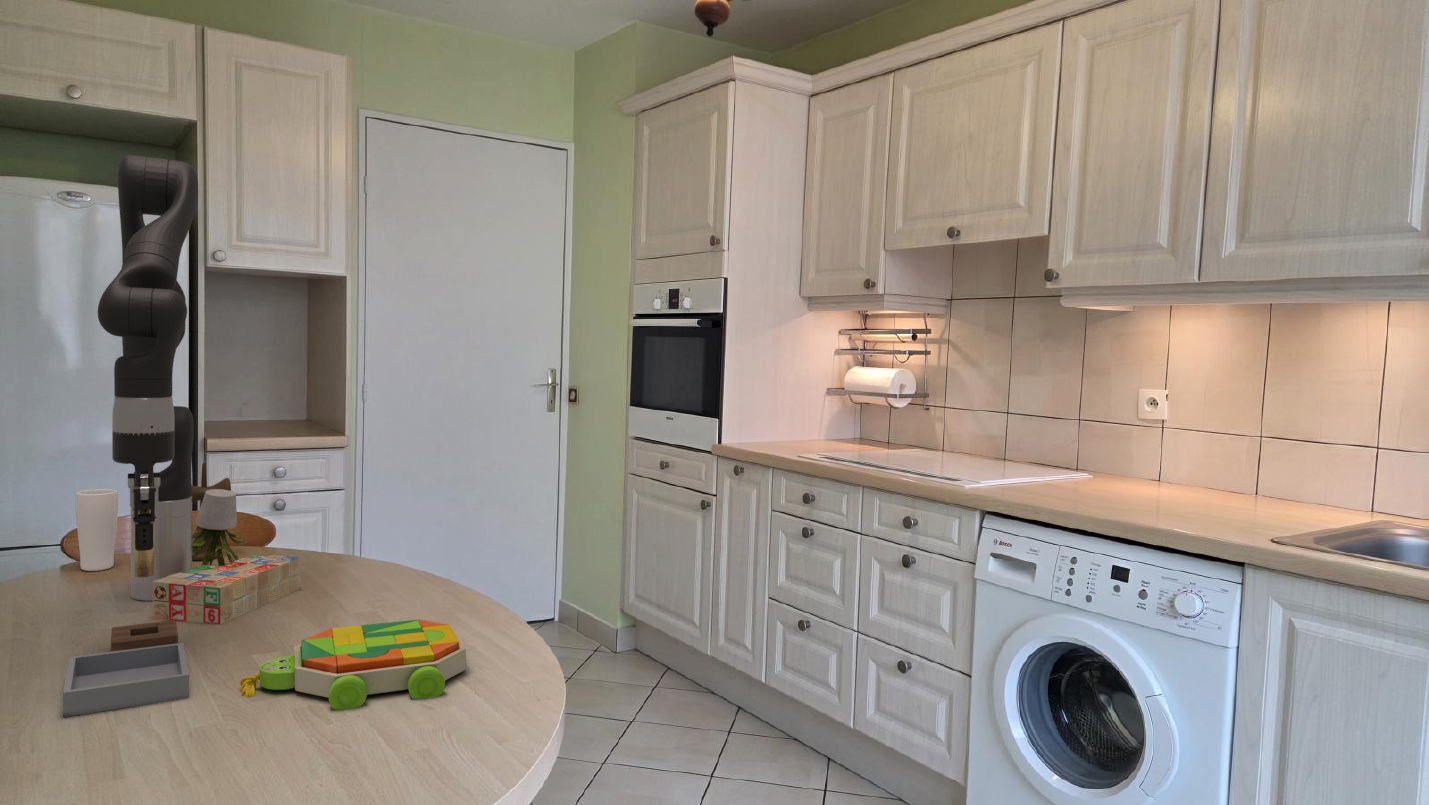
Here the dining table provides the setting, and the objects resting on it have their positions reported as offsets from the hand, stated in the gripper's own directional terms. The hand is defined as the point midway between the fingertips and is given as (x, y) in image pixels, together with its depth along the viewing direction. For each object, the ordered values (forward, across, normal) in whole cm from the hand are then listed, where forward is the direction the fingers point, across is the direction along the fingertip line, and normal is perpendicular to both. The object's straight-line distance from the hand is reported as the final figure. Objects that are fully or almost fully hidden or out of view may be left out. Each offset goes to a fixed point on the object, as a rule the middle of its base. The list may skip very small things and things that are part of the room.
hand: (144, 547), depth 131 cm
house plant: (0, +41, -14) cm, 44 cm away
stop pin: (+4, 0, 0) cm, 4 cm away
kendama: (+16, +57, -11) cm, 60 cm away
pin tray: (+15, -15, +2) cm, 22 cm away
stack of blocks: (+12, +16, -18) cm, 27 cm away
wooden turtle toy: (+16, -25, -24) cm, 38 cm away
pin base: (+15, 0, 0) cm, 15 cm away
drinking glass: (+16, +57, +7) cm, 59 cm away
